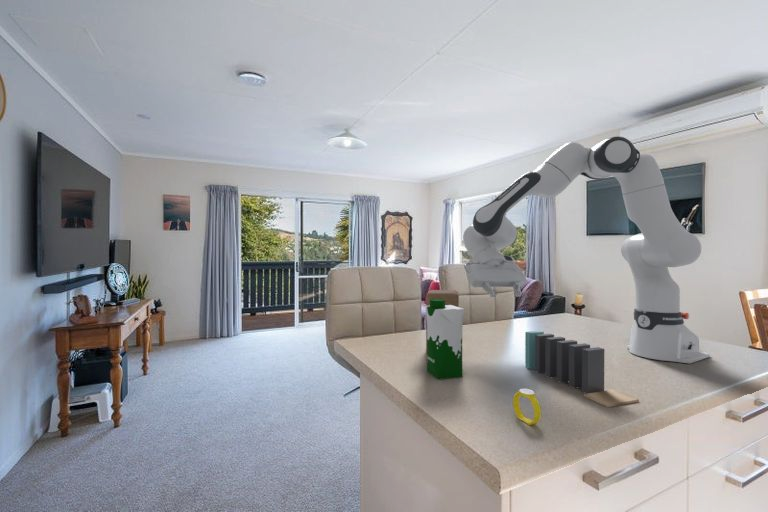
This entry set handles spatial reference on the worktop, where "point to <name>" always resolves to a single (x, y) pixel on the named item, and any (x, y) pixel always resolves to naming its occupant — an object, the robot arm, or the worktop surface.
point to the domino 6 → (592, 370)
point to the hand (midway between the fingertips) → (506, 295)
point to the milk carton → (444, 339)
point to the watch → (536, 406)
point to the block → (448, 295)
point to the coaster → (611, 398)
